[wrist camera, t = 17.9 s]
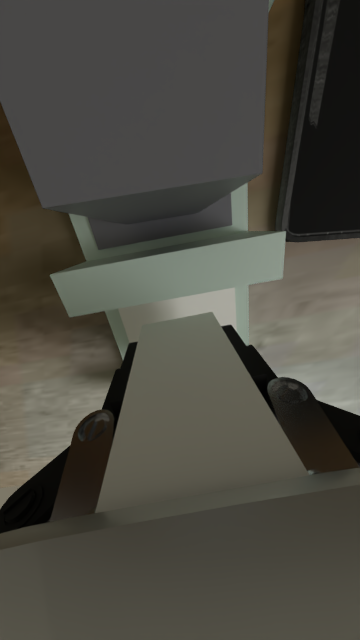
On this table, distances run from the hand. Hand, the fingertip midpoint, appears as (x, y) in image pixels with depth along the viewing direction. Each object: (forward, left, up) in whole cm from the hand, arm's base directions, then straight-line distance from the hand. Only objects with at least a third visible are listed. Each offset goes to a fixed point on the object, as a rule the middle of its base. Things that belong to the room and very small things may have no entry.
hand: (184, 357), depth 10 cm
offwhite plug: (0, 0, -1) cm, 1 cm away
